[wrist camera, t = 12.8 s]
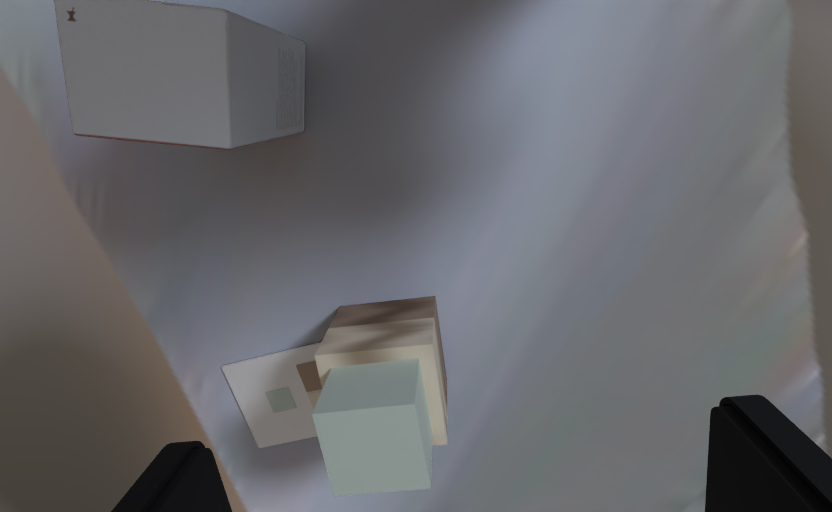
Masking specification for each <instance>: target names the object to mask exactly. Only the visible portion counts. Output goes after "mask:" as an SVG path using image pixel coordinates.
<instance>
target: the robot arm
mask: <svg viewBox="0 0 832 512" xmlns="http://www.w3.org/2000/svg"><path fill="white" fill-rule="evenodd" d="M111 512H232V510H231V507H230V504H229V501H228V498H227V495H226V492H225V489H224V486H223V483H222V480H221V477H220V474H219V471H218V468H217V465H216V462H215V458H214V456H213V453H212V451H211V450H210V449H209V448H205V446H204V445H203V444H202V443H201V442H200V441H190V442H176V443H170V444H168V445H166V446H165V447H164V448H163V449H162V450H161V451H160V453H159V454H158V455H157V456H156V457H155V459H154V460H153V461H152V463H151V464H150V465H149V466H148V467H147V469H146V470H145V471H144V472H143V473H142V475H141V476H140V477H139V478H138V480H137V481H136V482H135V483H134V485H133V486H132V487H131V488H130V489H129V491H128V492H127V493H126V494H125V496H124V497H123V498H122V499H121V500H120V502H119V503H118V504H117V505H116V507H115V508H114V509H113V510H112V511H111ZM705 512H832V459H831V458H830V457H829V456H828V455H827V454H826V453H825V452H824V451H823V450H822V449H821V448H820V447H819V446H817V445H816V444H815V443H814V442H813V441H812V440H811V439H810V438H809V437H808V436H807V435H805V434H804V433H803V432H802V431H801V430H800V429H799V428H798V427H797V426H796V425H795V424H794V423H792V422H791V421H790V420H789V419H788V418H787V417H786V416H785V415H784V414H783V413H782V412H780V411H779V410H778V409H777V408H776V407H775V406H774V405H773V404H772V403H771V402H770V401H768V400H767V399H766V398H765V397H763V396H761V395H747V396H735V397H725V398H723V399H722V400H721V401H720V405H719V407H714V408H712V410H711V414H710V432H709V450H708V468H707V486H706V503H705Z"/></svg>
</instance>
